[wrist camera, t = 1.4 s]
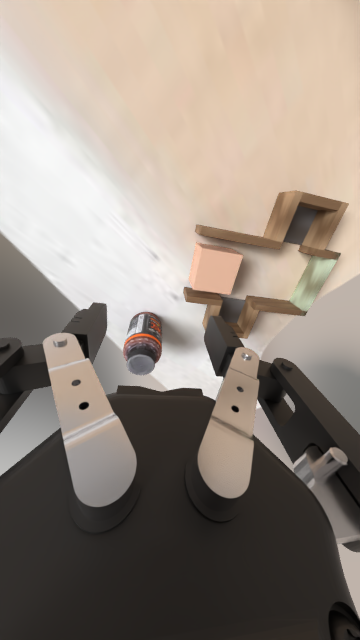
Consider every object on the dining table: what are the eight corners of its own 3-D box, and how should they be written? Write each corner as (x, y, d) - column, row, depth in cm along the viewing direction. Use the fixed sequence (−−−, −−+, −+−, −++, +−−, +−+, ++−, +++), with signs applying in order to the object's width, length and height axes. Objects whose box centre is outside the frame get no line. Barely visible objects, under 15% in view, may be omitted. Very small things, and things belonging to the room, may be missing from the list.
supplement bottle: (167, 326, 37) (170, 367, 27) (144, 341, 38) (139, 386, 29) (147, 304, 34) (143, 342, 24) (123, 322, 36) (110, 364, 26)
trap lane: (206, 175, 25) (213, 170, 22) (342, 208, 29) (367, 208, 25) (177, 320, 36) (179, 332, 33) (278, 331, 40) (289, 342, 37)
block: (196, 242, 30) (202, 248, 25) (231, 248, 31) (243, 255, 26) (188, 278, 32) (193, 289, 28) (221, 283, 34) (230, 294, 29)
